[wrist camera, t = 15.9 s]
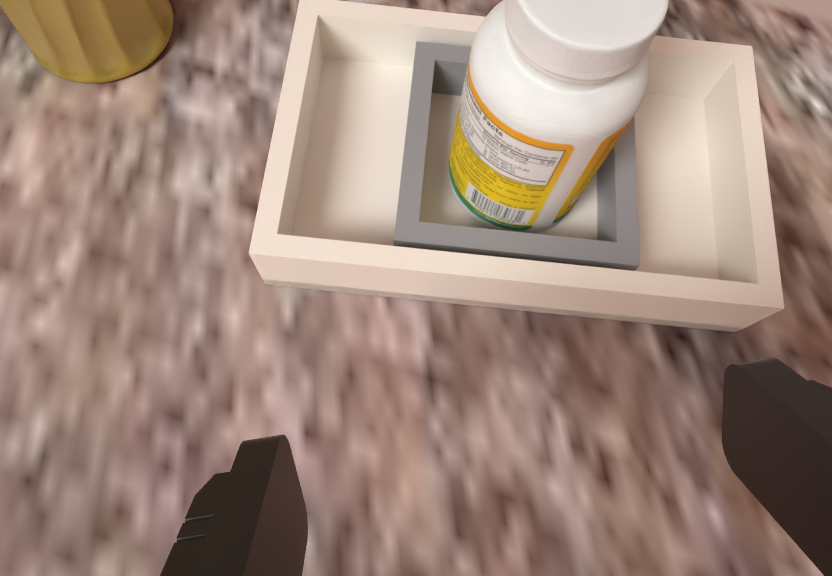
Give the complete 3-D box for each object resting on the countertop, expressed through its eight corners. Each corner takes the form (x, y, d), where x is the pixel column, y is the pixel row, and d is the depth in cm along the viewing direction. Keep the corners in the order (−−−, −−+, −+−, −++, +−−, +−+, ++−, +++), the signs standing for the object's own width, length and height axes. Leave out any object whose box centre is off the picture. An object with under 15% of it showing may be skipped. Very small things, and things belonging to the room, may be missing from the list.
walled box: (265, 284, 23) (248, 253, 20) (309, 50, 27) (300, -4, 24) (735, 332, 23) (784, 308, 20) (713, 94, 27) (752, 46, 24)
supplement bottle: (469, 253, 23) (524, 90, 14) (430, 135, 25) (457, -77, 16) (599, 222, 24) (731, 49, 15) (553, 110, 25) (646, -108, 16)
